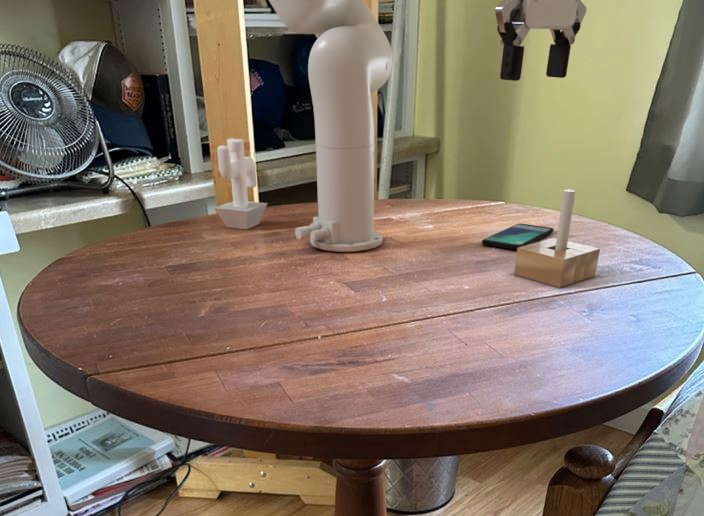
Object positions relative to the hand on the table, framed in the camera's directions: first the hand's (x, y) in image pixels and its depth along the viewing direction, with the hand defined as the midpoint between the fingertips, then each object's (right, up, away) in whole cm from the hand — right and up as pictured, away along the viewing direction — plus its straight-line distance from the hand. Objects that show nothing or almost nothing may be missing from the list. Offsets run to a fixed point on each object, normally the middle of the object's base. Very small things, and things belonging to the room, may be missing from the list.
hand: (533, 78), depth 99 cm
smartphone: (+4, -15, +23) cm, 28 cm away
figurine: (-46, -8, +35) cm, 58 cm away
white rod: (+5, -26, +6) cm, 27 cm away
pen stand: (+5, -26, +6) cm, 27 cm away
